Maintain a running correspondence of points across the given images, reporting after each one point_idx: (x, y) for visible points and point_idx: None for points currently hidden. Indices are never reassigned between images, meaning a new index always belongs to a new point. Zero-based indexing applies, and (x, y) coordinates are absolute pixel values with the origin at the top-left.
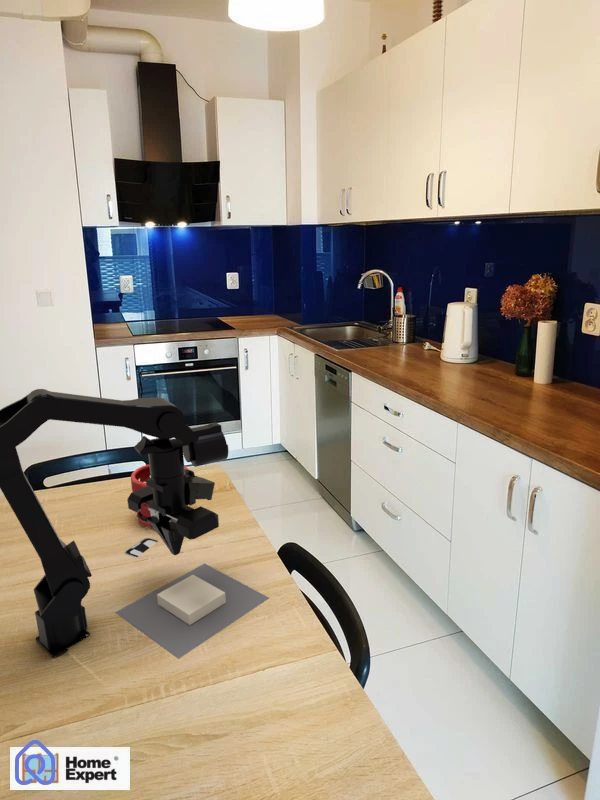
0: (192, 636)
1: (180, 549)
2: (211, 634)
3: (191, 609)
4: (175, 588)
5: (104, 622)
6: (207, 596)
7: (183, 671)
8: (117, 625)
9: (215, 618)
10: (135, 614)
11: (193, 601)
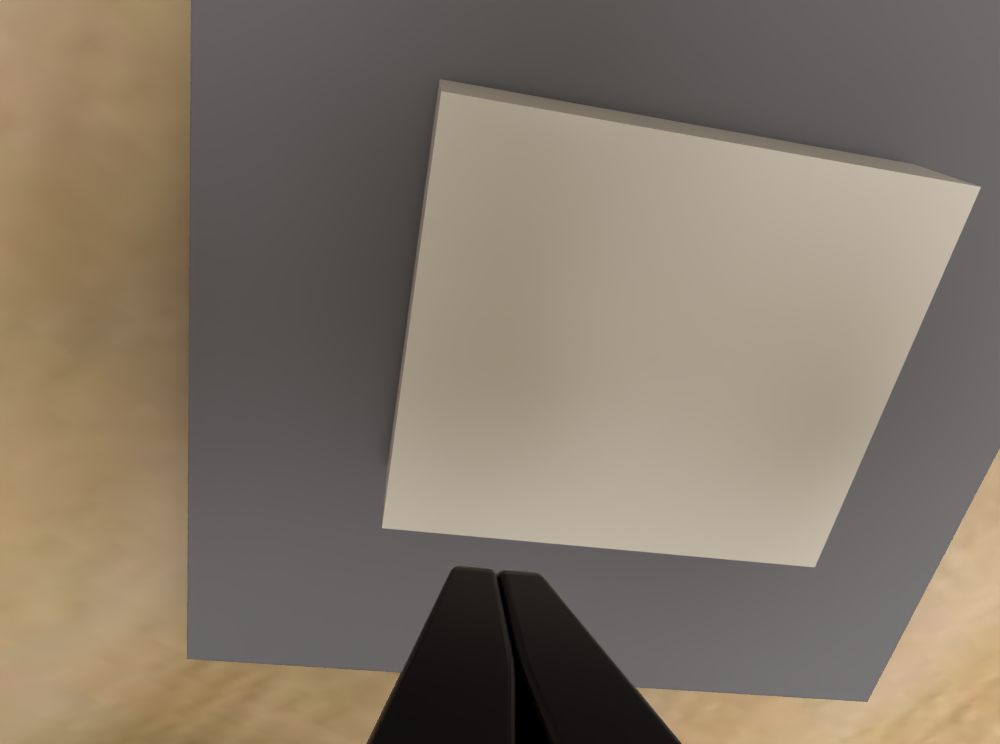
0: (848, 563)
1: (579, 624)
2: (959, 492)
3: (797, 516)
4: (463, 386)
5: (202, 704)
6: (836, 325)
7: (913, 707)
8: (301, 682)
9: (911, 361)
10: (332, 607)
11: (753, 440)
